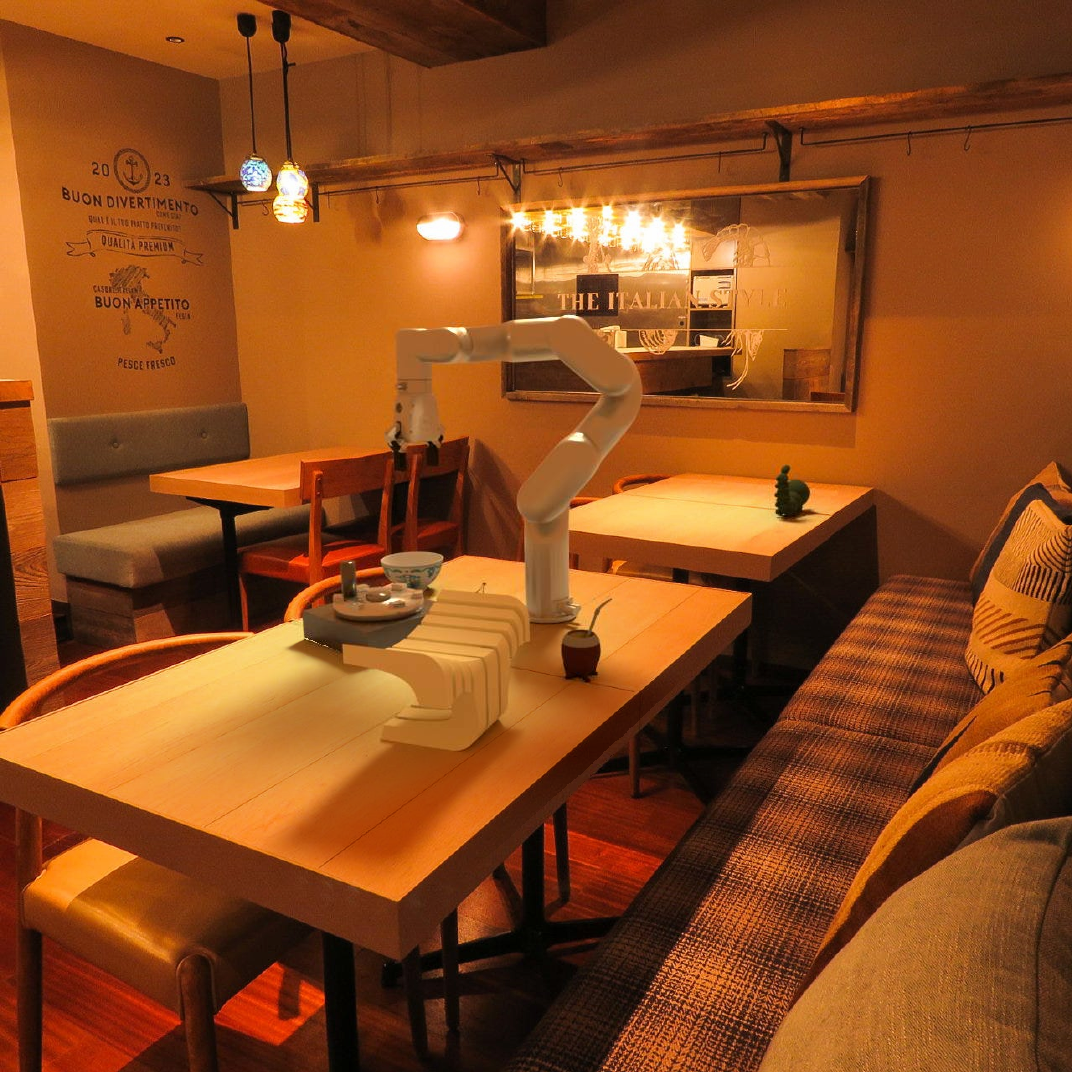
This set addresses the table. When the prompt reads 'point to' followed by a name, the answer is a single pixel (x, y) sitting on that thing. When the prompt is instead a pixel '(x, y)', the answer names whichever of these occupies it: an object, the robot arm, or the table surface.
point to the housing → (358, 628)
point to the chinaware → (412, 568)
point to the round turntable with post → (374, 599)
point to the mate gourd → (581, 651)
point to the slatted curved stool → (452, 668)
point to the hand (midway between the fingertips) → (416, 468)
